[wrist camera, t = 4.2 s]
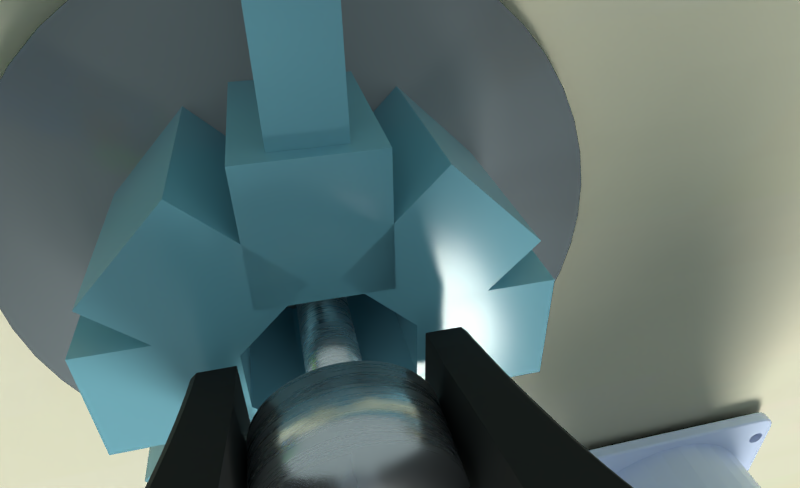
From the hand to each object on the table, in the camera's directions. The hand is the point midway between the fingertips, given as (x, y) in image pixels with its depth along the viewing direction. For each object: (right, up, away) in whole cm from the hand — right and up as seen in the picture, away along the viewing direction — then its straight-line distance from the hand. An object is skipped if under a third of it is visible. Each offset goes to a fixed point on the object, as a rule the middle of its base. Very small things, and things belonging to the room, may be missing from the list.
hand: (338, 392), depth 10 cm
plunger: (-1, +2, +3) cm, 4 cm away
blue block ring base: (-1, +2, +4) cm, 5 cm away
